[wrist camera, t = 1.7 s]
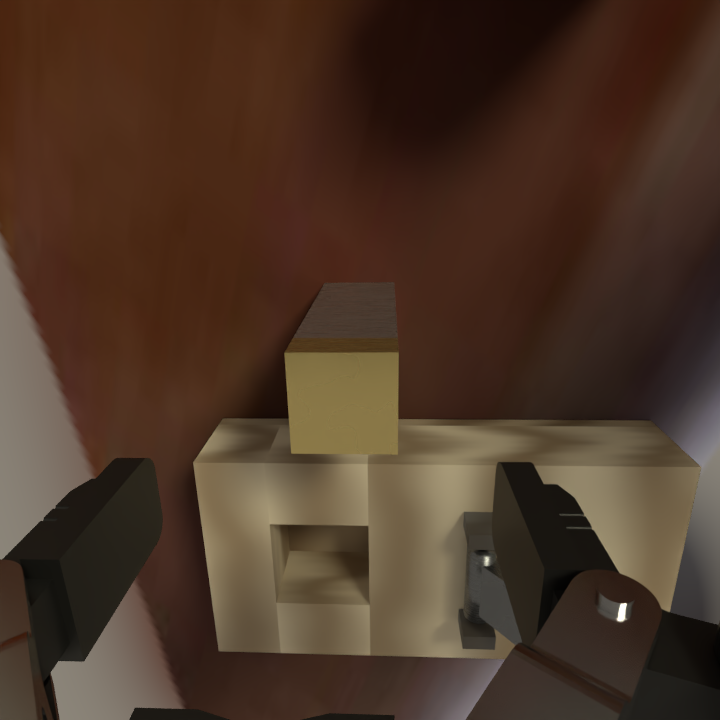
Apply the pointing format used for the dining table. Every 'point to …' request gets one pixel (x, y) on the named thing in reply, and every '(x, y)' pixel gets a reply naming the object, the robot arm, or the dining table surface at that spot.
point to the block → (414, 527)
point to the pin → (345, 372)
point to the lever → (488, 594)
